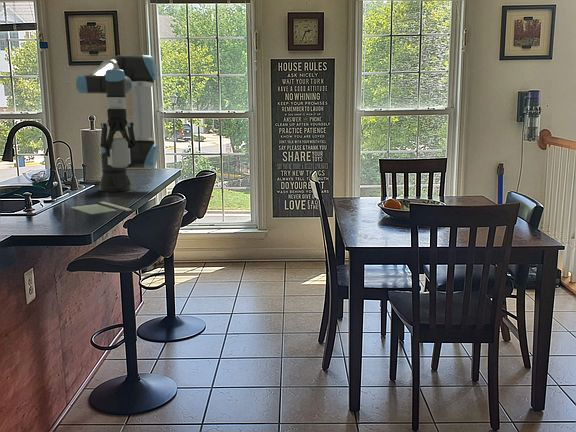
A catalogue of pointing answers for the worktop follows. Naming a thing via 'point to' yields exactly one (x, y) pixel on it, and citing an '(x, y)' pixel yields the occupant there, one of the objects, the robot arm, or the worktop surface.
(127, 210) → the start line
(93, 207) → the mat
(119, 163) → the can
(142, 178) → the worktop surface
